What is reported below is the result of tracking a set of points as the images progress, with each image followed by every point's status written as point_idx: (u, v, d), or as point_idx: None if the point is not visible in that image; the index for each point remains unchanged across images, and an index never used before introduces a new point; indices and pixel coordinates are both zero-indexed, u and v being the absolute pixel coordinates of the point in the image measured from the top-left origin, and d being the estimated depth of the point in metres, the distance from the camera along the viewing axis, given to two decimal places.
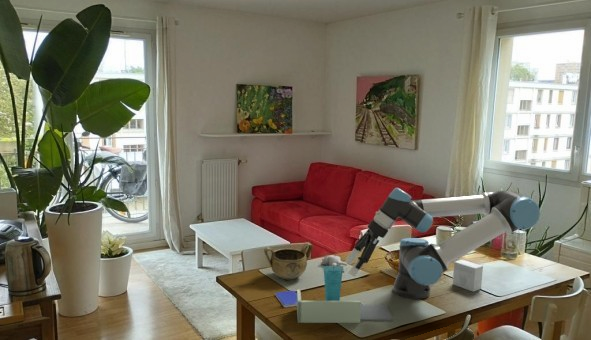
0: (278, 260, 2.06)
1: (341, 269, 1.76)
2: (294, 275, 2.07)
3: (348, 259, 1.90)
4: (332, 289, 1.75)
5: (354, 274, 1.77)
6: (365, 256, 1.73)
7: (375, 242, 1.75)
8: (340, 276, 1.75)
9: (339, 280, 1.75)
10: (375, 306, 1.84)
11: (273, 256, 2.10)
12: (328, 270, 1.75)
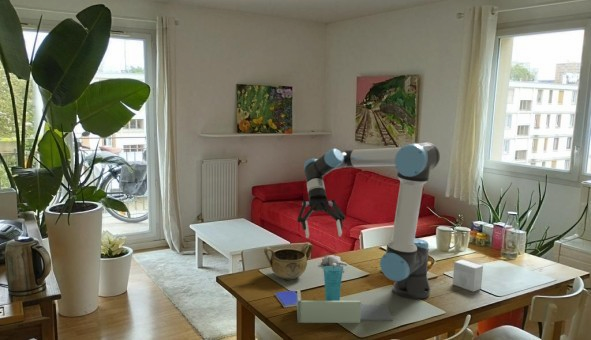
0: (278, 260, 2.06)
1: (341, 269, 1.76)
2: (294, 275, 2.07)
3: (338, 232, 1.93)
4: (332, 289, 1.75)
5: (306, 234, 1.89)
6: None
7: (302, 203, 1.97)
8: (340, 276, 1.75)
9: (339, 280, 1.75)
10: (375, 306, 1.84)
11: (273, 256, 2.10)
12: (328, 269, 1.75)
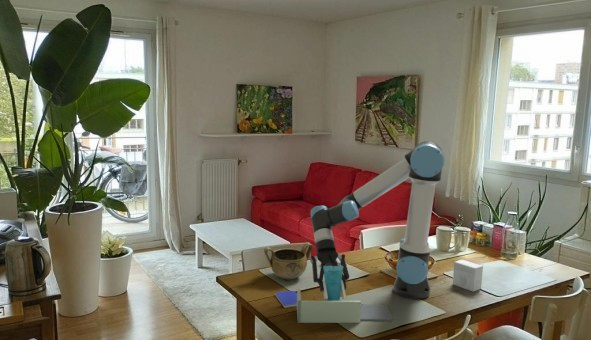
0: (278, 260, 2.06)
1: (341, 269, 1.76)
2: (294, 275, 2.07)
3: None
4: (332, 289, 1.75)
5: (325, 296, 1.73)
6: (313, 277, 1.78)
7: (311, 260, 1.81)
8: (340, 276, 1.75)
9: (339, 280, 1.75)
10: (375, 306, 1.84)
11: (273, 256, 2.10)
12: (328, 269, 1.75)
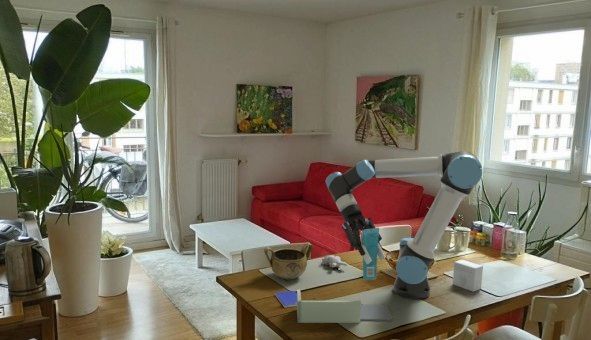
0: (278, 260, 2.06)
1: (378, 231, 1.76)
2: (294, 275, 2.07)
3: (379, 256, 1.76)
4: (372, 252, 1.74)
5: (368, 260, 1.71)
6: (351, 243, 1.74)
7: (344, 226, 1.77)
8: (377, 238, 1.75)
9: (377, 242, 1.75)
10: (375, 306, 1.84)
11: (273, 256, 2.10)
12: (367, 233, 1.74)
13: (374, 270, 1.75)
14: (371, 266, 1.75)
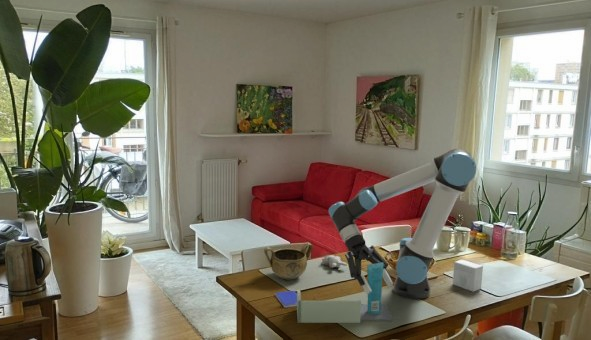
0: (278, 260, 2.06)
1: (382, 265, 1.78)
2: (294, 275, 2.07)
3: (387, 283, 1.80)
4: (376, 286, 1.77)
5: (368, 290, 1.72)
6: (351, 272, 1.75)
7: (348, 255, 1.79)
8: (382, 272, 1.78)
9: (381, 276, 1.78)
10: None
11: (273, 256, 2.10)
12: (372, 268, 1.76)
13: (379, 304, 1.78)
14: (375, 300, 1.77)
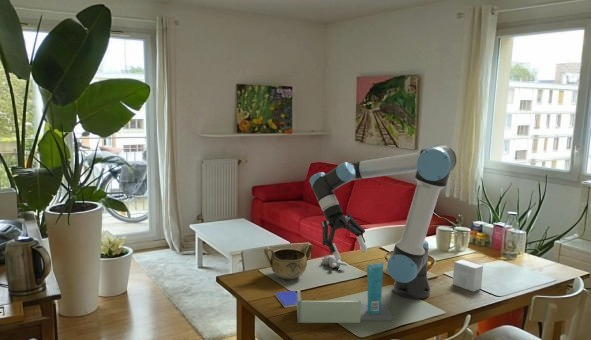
0: (278, 260, 2.06)
1: (382, 265, 1.78)
2: (294, 275, 2.07)
3: (362, 248, 1.92)
4: (376, 286, 1.77)
5: (338, 257, 1.84)
6: (323, 240, 1.86)
7: (323, 224, 1.89)
8: (382, 272, 1.78)
9: (381, 276, 1.78)
10: None
11: (273, 256, 2.10)
12: (372, 268, 1.76)
13: (379, 304, 1.78)
14: (375, 300, 1.77)
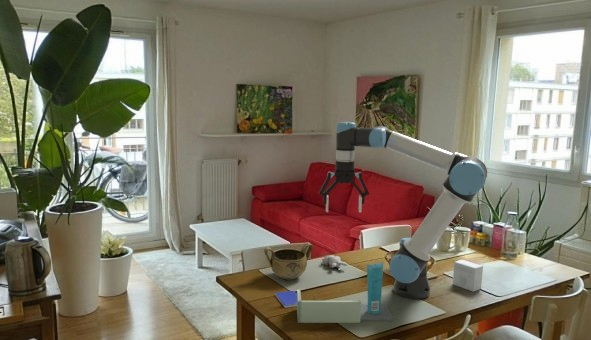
0: (278, 260, 2.06)
1: (382, 265, 1.78)
2: (294, 275, 2.07)
3: None
4: (376, 286, 1.77)
5: (326, 210, 1.93)
6: (320, 189, 1.93)
7: (327, 175, 1.91)
8: (382, 272, 1.78)
9: (381, 276, 1.78)
10: None
11: (273, 256, 2.10)
12: (372, 268, 1.76)
13: (379, 304, 1.78)
14: (375, 300, 1.77)
